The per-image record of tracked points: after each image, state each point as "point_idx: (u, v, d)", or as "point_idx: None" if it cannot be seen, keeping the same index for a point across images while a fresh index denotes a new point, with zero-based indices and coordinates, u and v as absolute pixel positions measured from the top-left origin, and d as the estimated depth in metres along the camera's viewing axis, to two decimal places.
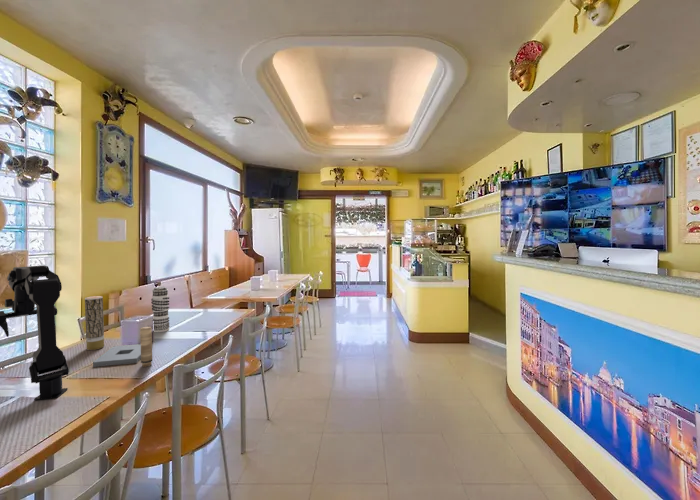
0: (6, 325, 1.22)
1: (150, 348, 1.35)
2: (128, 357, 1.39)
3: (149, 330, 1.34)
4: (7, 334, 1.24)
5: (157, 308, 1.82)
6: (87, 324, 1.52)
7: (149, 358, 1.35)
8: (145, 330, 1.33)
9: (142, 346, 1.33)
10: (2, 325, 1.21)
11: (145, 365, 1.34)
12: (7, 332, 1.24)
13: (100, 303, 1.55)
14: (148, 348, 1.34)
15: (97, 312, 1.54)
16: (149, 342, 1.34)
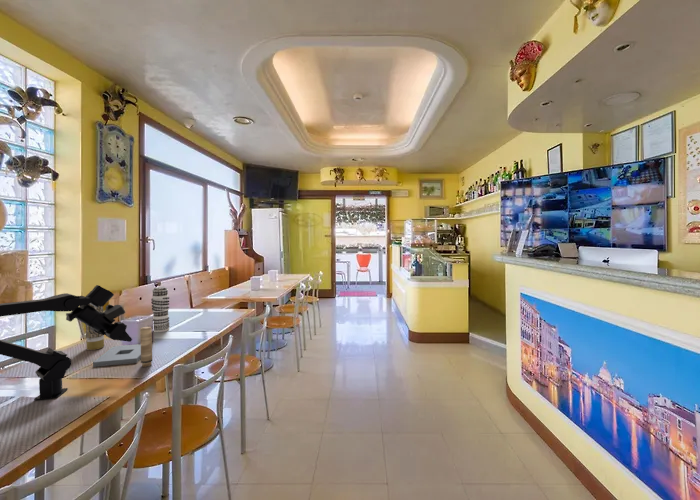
0: (102, 334, 1.27)
1: (150, 348, 1.35)
2: (128, 357, 1.39)
3: (149, 330, 1.34)
4: None
5: (157, 308, 1.82)
6: None
7: (149, 358, 1.35)
8: (145, 330, 1.33)
9: (142, 346, 1.33)
10: (100, 333, 1.27)
11: (145, 365, 1.34)
12: None
13: None
14: (148, 348, 1.34)
15: None
16: (149, 342, 1.34)
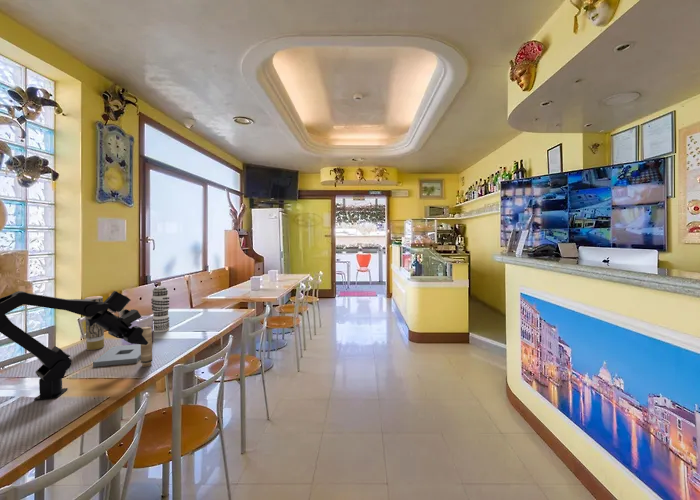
0: None
1: (150, 348, 1.35)
2: (128, 357, 1.39)
3: (149, 330, 1.34)
4: None
5: (157, 308, 1.82)
6: None
7: (149, 358, 1.35)
8: (145, 330, 1.33)
9: (142, 346, 1.33)
10: (117, 337, 1.32)
11: (145, 365, 1.34)
12: None
13: None
14: (148, 348, 1.34)
15: None
16: (149, 342, 1.34)
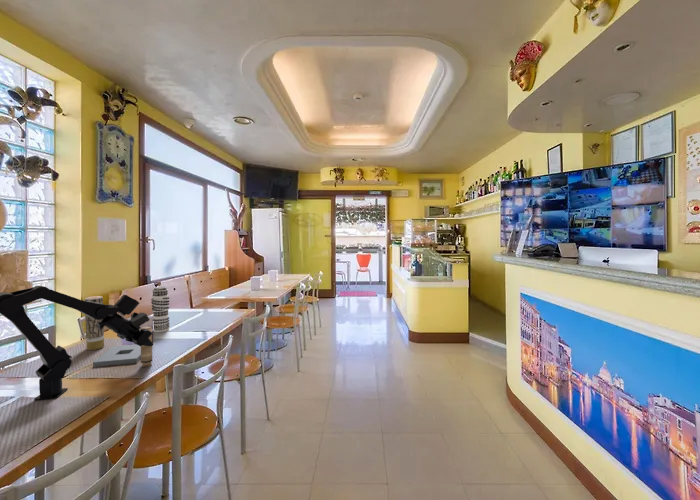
0: (130, 341, 1.33)
1: (150, 348, 1.35)
2: (128, 357, 1.39)
3: (149, 330, 1.34)
4: None
5: (157, 308, 1.82)
6: (87, 324, 1.52)
7: (149, 358, 1.35)
8: None
9: (142, 346, 1.33)
10: None
11: (145, 365, 1.34)
12: None
13: None
14: (148, 348, 1.34)
15: None
16: None
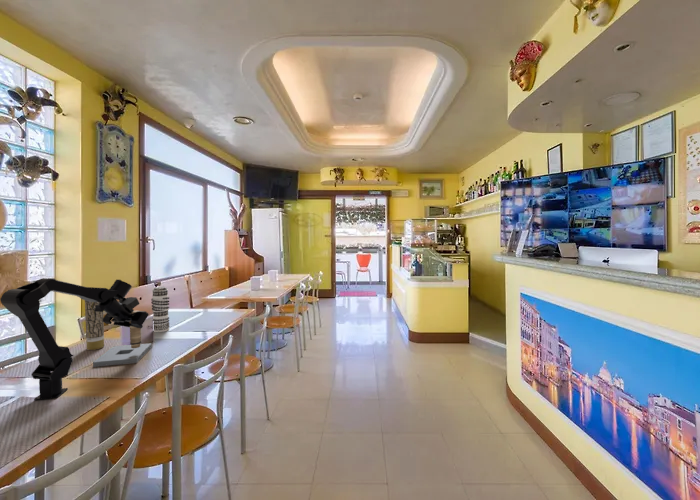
0: (119, 325, 1.38)
1: (140, 330, 1.43)
2: (128, 357, 1.39)
3: None
4: None
5: (157, 308, 1.82)
6: (87, 324, 1.52)
7: (139, 339, 1.43)
8: None
9: (133, 328, 1.41)
10: None
11: (136, 346, 1.42)
12: (128, 326, 1.42)
13: None
14: (139, 330, 1.42)
15: (97, 312, 1.54)
16: None
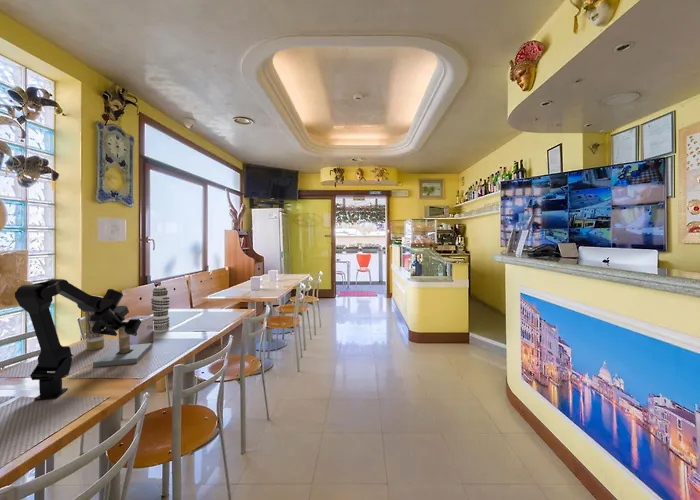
0: (104, 334, 1.40)
1: (129, 339, 1.46)
2: (128, 357, 1.39)
3: None
4: (113, 335, 1.45)
5: (157, 308, 1.82)
6: (87, 324, 1.52)
7: (129, 349, 1.46)
8: None
9: (123, 338, 1.43)
10: None
11: None
12: (111, 335, 1.44)
13: None
14: (128, 340, 1.45)
15: None
16: (128, 334, 1.45)
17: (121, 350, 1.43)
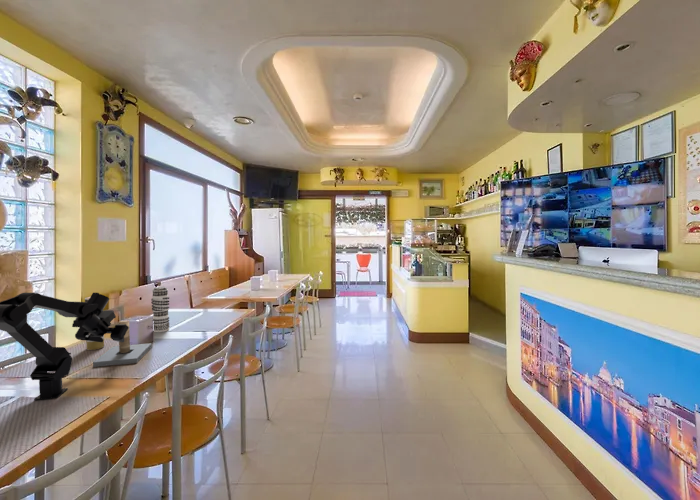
0: (89, 340, 1.32)
1: (129, 339, 1.46)
2: (128, 357, 1.39)
3: (128, 323, 1.45)
4: (99, 341, 1.37)
5: (157, 308, 1.82)
6: None
7: (129, 349, 1.46)
8: (126, 323, 1.44)
9: None
10: (85, 340, 1.32)
11: None
12: (97, 341, 1.36)
13: None
14: (128, 340, 1.45)
15: None
16: (129, 334, 1.45)
17: (121, 350, 1.43)
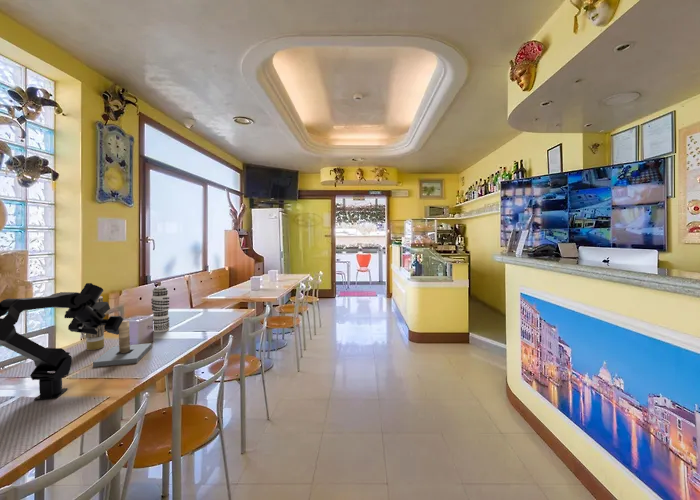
0: (82, 332, 1.29)
1: (129, 339, 1.46)
2: (128, 357, 1.39)
3: (128, 323, 1.45)
4: None
5: (157, 308, 1.82)
6: None
7: (129, 349, 1.46)
8: (126, 323, 1.44)
9: (123, 338, 1.43)
10: (79, 332, 1.28)
11: None
12: (91, 333, 1.32)
13: None
14: (128, 340, 1.45)
15: None
16: (129, 334, 1.45)
17: (121, 350, 1.43)
